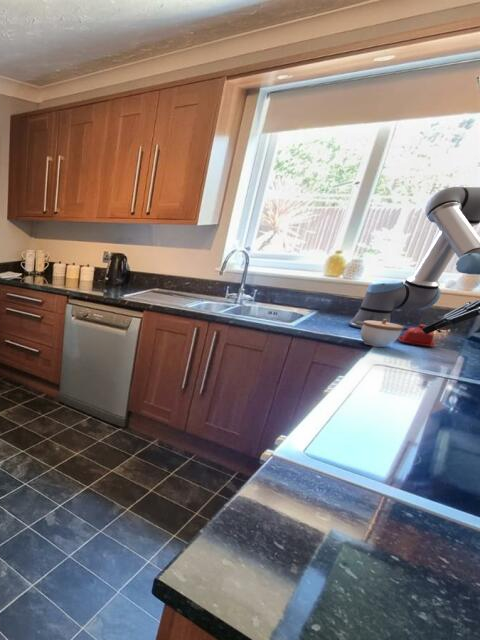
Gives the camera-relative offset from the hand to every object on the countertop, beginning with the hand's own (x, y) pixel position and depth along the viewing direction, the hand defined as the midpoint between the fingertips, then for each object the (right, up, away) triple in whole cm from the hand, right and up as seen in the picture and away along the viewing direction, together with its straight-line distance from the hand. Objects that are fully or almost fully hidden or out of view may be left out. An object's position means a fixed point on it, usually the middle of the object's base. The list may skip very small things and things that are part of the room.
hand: (423, 331), depth 172 cm
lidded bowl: (-11, -5, +9) cm, 15 cm away
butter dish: (+11, -4, +13) cm, 18 cm away
